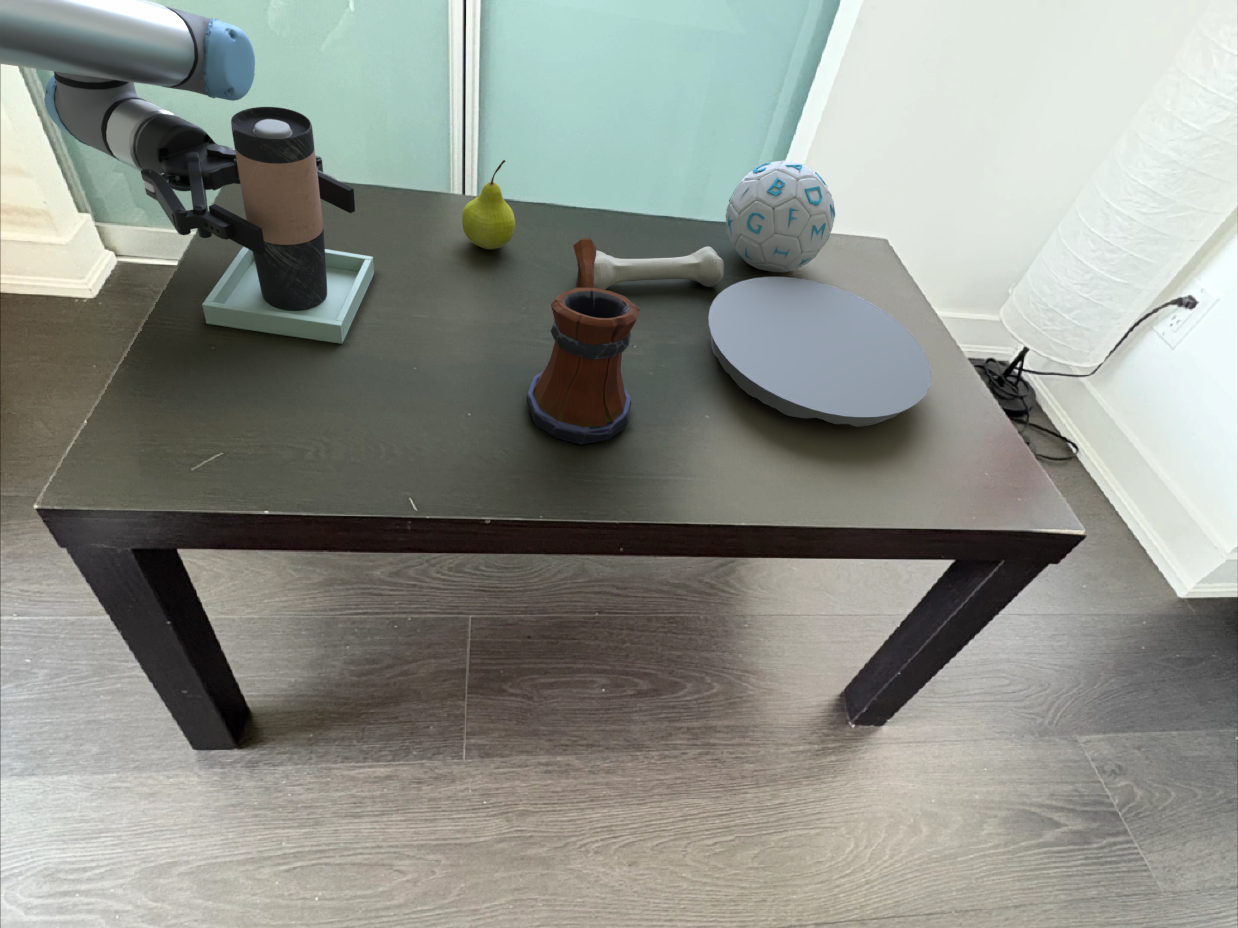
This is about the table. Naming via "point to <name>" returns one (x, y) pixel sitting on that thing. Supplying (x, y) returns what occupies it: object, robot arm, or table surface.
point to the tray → (246, 309)
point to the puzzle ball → (780, 216)
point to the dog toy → (659, 268)
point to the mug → (585, 360)
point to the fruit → (489, 218)
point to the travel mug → (283, 204)
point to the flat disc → (817, 351)
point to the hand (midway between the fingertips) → (309, 220)
